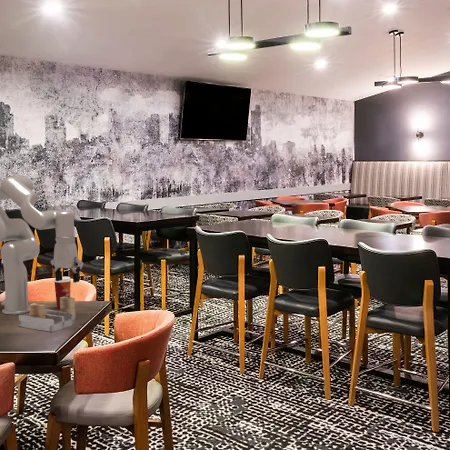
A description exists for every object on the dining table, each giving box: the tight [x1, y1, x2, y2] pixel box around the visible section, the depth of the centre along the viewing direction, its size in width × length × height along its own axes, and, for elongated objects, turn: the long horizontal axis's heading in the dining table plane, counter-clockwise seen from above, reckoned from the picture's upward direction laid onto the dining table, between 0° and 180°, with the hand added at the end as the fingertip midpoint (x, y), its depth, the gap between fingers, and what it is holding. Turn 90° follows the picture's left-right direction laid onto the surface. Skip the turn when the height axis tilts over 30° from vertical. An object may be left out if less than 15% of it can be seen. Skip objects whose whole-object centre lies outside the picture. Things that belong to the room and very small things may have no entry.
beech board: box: [60, 296, 76, 320], centre depth 253 cm, size 6×2×9 cm, turn 61°
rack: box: [18, 308, 75, 333], centre depth 242 cm, size 18×12×5 cm
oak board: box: [29, 303, 46, 319], centre depth 241 cm, size 6×2×9 cm, turn 61°
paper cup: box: [53, 276, 72, 311], centre depth 271 cm, size 8×8×14 cm
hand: (67, 281), depth 251 cm, fingers open, 9 cm apart
